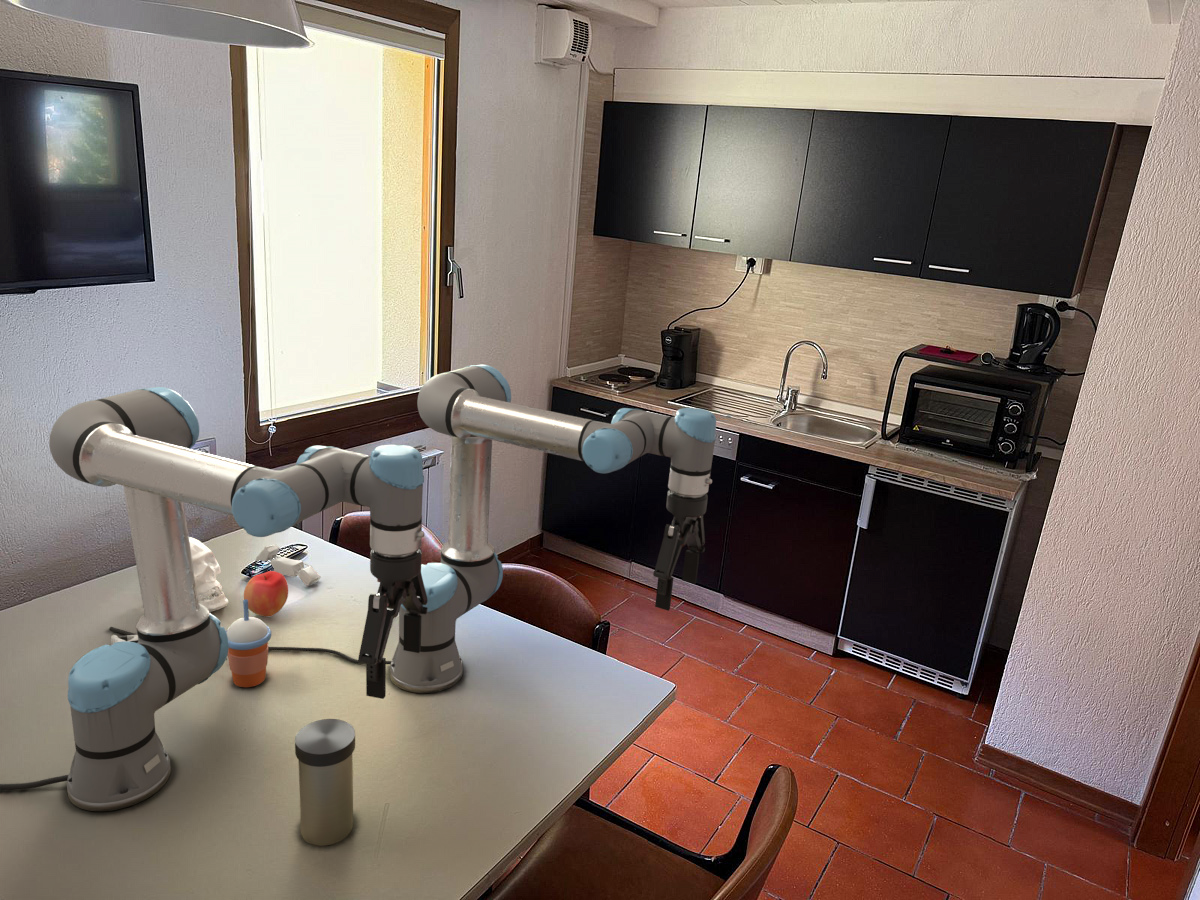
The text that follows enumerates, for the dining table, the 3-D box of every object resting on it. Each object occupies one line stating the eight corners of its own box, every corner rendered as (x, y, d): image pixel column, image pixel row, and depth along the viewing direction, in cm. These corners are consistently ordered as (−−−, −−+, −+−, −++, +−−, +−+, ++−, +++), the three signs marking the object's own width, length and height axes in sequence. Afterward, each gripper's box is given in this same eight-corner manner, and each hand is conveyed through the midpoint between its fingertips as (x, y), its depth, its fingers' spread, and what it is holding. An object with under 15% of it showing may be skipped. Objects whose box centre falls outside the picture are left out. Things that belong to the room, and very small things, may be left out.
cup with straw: (256, 695, 170) (252, 614, 165) (215, 687, 172) (210, 606, 166) (281, 671, 179) (279, 594, 173) (242, 664, 180) (238, 587, 175)
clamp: (253, 565, 223) (254, 542, 221) (265, 560, 226) (266, 537, 224) (309, 593, 215) (310, 569, 213) (320, 588, 218) (321, 564, 216)
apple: (273, 600, 207) (272, 562, 204) (297, 613, 202) (296, 575, 199) (237, 614, 200) (234, 575, 197) (261, 628, 194) (259, 588, 191)
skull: (207, 623, 194) (205, 559, 190) (129, 604, 200) (125, 541, 196) (247, 600, 207) (245, 539, 203) (172, 583, 212) (169, 523, 208)
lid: (367, 743, 136) (367, 730, 135) (326, 774, 128) (325, 761, 127) (325, 724, 139) (324, 712, 139) (282, 753, 132) (282, 741, 131)
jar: (363, 821, 140) (363, 733, 135) (327, 853, 133) (325, 761, 128) (326, 803, 143) (324, 716, 138) (289, 833, 136) (286, 742, 131)
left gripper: (383, 588, 115) (383, 722, 122) (449, 522, 139) (446, 637, 145) (332, 579, 117) (334, 713, 123) (406, 515, 140) (404, 630, 146)
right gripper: (681, 516, 147) (669, 626, 153) (728, 478, 168) (716, 576, 174) (642, 506, 150) (631, 614, 156) (693, 470, 171) (682, 566, 178)
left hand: (394, 672), depth 134 cm, fingers open, 13 cm apart
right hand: (676, 594), depth 165 cm, fingers open, 13 cm apart
